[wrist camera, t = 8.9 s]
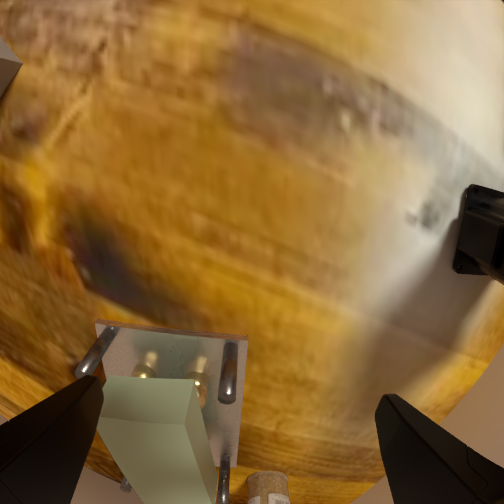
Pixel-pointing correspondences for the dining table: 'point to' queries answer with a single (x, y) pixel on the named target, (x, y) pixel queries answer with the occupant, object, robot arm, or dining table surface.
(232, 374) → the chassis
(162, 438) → the board
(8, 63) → the icon cube
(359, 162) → the dining table surface
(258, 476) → the sprinkles bottle
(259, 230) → the dining table surface
